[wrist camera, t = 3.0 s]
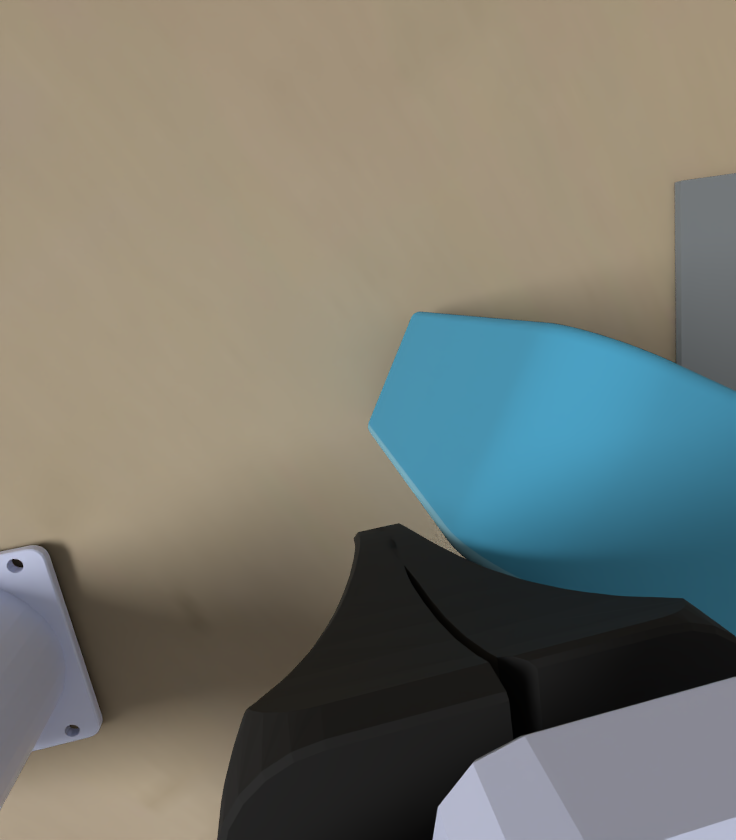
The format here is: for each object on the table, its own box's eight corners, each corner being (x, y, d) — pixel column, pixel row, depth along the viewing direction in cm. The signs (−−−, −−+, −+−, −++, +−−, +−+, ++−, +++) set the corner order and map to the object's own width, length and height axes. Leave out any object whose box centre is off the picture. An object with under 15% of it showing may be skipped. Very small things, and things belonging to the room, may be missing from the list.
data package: (662, 417, 22) (1077, 544, 11) (614, 514, 23) (958, 731, 11) (404, 308, 20) (592, 321, 8) (358, 421, 20) (472, 586, 9)
